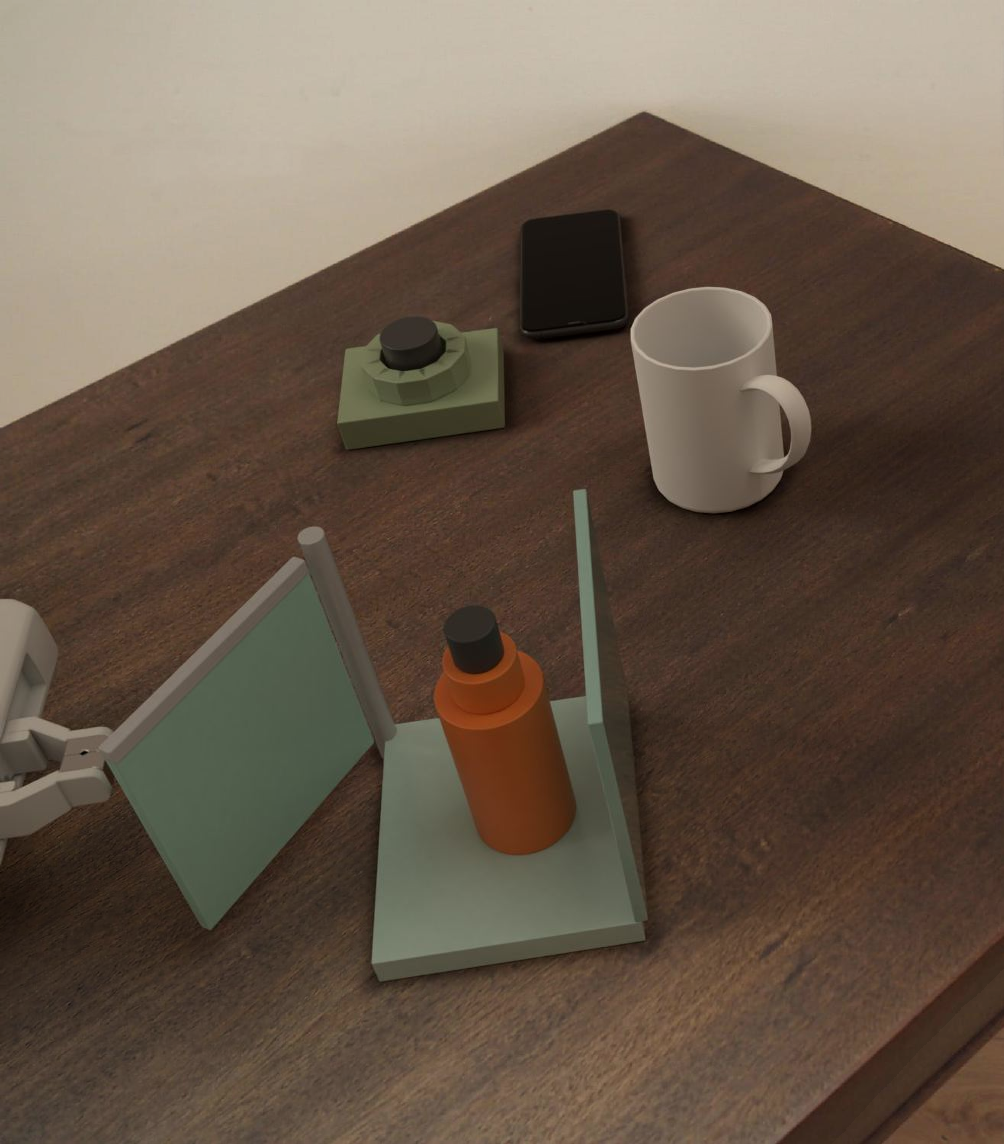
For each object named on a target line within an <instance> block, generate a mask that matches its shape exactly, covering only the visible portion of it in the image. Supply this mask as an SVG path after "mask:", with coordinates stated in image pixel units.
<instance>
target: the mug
mask: <svg viewBox="0 0 1004 1144" xmlns="http://www.w3.org/2000/svg"><path fill="white" fill-rule="evenodd" d="M774 339H775V338H774V328H773V320H772V314H771V312H770V311H769V309H768V307H767V306H766V304H765V303H763V302H762V301H760V300H759V298H757V297H756V296H753V295H751V294H749V293H747V292H744V291H741V290H737V289H732V288H729V287H719V286H718V287H717V286H703V287H702V286H701V287H693V288H687V289H683V290H679V291H675V292H672V293H669V294H667V295H665V296H663V297H660V298H657V299H655V301H653V302H651V303H650V304H649V305H647V306H646V307H644V308H643V309H642V310H641V311H640V313H639V314H638V315H637V316H636V317H635V318H634V321H633V323H632V326H631V328H630V344H631V351H632V356H633V362H634V368H635V375H636V380H637V386H638V392H639V399H640V404H641V411H642V417H643V424H644V429H645V436H646V441H647V447H648V453H649V459H650V466H651V471H652V472H651V473H652V477H653V481H654V484H655V485H656V488H657V489H658V491H659V492H660V493H661V494H662V495H663V497H665V498H666V500H668V502H670V503H672V504H674V505H676V506H677V507H679V508H681V509H684V510H688V511H691V512H694V513H704V514H722V513H728V512H729V513H731V512H734V511H738V510H742V509H744V508H748V507H750V506H752V505H754V504H756V503H758V502H761V501H763V499H764V498H766V497H768V495H769V494H771V493H772V492H773V491H774V490H775V488H776V487H777V485H778V484H779V482H780V481H781V479H782V476H783V473H784V471H785V470H787V469H789V468H790V467H793V465H795V464H797V463H798V462H799V461H800V460H801V459H802V458H803V457H804V456H805V455H806V452H807V450H808V447H809V445H810V442H811V437H812V420H811V419H812V418H811V414H810V410H809V406H808V405H807V403H806V400H805V398H804V396H803V395H802V394H801V392H800V390H799V389H798V388H797V387H796V386H795V385H794V384H793V383H792V382H791V381H789V380H787V379H786V378H784V377H781V376H778V374H777V373H778V372H777V363H776V352H775V340H774ZM780 407H781V408H782V409H783V411H784V414H785V415H786V418H787V419H788V424H789V428H790V445H789V446H790V447H789V450H788V453H787V455H785V454H784V453H785V452H784V443H783V442H784V441H783V440H784V439H783V432H782V431H783V429H782V419H781V408H780Z"/></svg>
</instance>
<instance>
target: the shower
mask: <svg viewBox="0 0 1004 1144" xmlns="http://www.w3.org/2000/svg"><path fill="white" fill-rule="evenodd" d="M588 497H589V496H588V491H587V489H586V488H581V489H574V490H573V492H572V498H573V500H572V501H573V513H574V528H575V529H574V531H575V546H576V561H577V576H578V579H577V580H578V592H579V594H578V595H579V610H580V625H581V626H580V627H581V640H582V642H581V643H582V656H583V657H582V658H583V672H584V687H585V688H584V689H585V695H582V696H577V697H576V696H575V697H569V698H562V699H556V700H555V699H554V700H550V704H551V708H552V711H553V715H554V719H555V723H556V727H557V731H558V734H559V738H560V742H561V746H562V750H563V754H564V758H565V761H566V765H567V769H568V773H569V777H570V781H571V785H572V788H573V792H574V796H575V800H576V814H575V818H574V821H573V823H572V825H571V827H570V828H569V830H568V831H567V833H566V834H565V835H564V836H563V837H562V838H561V839H560V840H559V841H557V842H556V843H555V844H553V845H551V846H550V847H548V848H546V849H544V850H541V851H539V852H535V853H531V854H526V855H510V854H505V853H501V852H498V851H496V850H494V849H492V848H491V847H489V846H488V845H487V844H485V842H484V841H483V840H482V839H481V837H480V836H479V834H478V832H477V829H476V826H475V823H474V820H473V817H472V814H471V811H470V808H469V805H468V802H467V799H466V796H465V793H464V790H463V787H462V784H461V781H460V779H459V776H458V773H457V770H456V767H455V764H454V761H453V758H452V755H451V752H450V749H449V746H448V743H447V740H446V737H445V734H444V731H443V728H442V725H441V722H440V719H439V717H434V718H428V719H421V720H416V721H415V720H414V721H408V722H400V723H396V722H395V720H394V717H393V714H392V711H391V708H390V706H389V704H388V701H387V698H386V696H385V692H384V690H383V687H382V684H381V683H380V682H381V681H380V680H379V676H378V673H377V671H376V668H375V665H374V663H373V660H372V657H371V655H370V652H369V649H368V646H367V644H366V641H365V638H364V635H363V633H362V631H361V628H360V624H359V622H358V619H357V616H356V613H355V612H354V608H353V606H352V603H351V600H350V597H349V595H348V592H347V589H346V588H345V584H344V581H343V579H342V575H341V573H340V570H339V568H338V566H337V565H338V564H337V562H336V560H335V557H334V555H333V552H332V549H331V545H330V543H329V541H328V537H327V535H326V532H325V530H324V529H323V528H322V527H320V526H317V525H316V526H308V527H306V528H303V529H302V530H301V531H300V532H299V533H298V535H297V537H296V539H297V542H298V545H299V548H300V550H301V553H302V556H303V557H304V560H305V562H306V565H307V567H308V570H309V574H310V577H311V579H312V582H313V585H314V587H315V590H316V592H317V595H318V598H319V600H320V603H321V605H322V608H323V610H324V613H325V616H326V618H327V621H328V623H329V626H330V629H331V631H332V634H333V636H334V639H335V641H336V644H337V647H338V649H339V652H340V654H341V657H342V660H343V662H344V665H345V667H346V670H347V672H348V675H349V678H350V680H351V683H352V685H353V688H354V691H355V693H356V696H357V698H358V701H359V703H360V706H361V709H362V711H363V714H364V716H365V719H366V722H367V724H368V727H369V729H370V732H371V734H372V737H373V740H374V743H375V744H376V747H377V749H378V752H379V755H380V757H381V758H382V759H383V765H382V766H383V768H382V785H381V797H380V798H381V800H380V817H379V820H380V821H379V834H378V849H377V867H376V883H375V898H374V899H375V900H374V913H373V914H374V915H373V931H372V946H371V947H372V948H371V962H370V964H371V966H372V968H373V970H374V973H375V975H376V977H377V979H378V981H379V982H380V983H381V982H388V981H394V980H399V979H400V980H401V979H407V978H414V977H419V976H420V977H421V976H426V975H431V974H432V975H433V974H439V973H446V972H452V971H459V970H464V969H465V970H466V969H470V968H477V967H478V968H479V967H484V966H491V965H497V964H503V963H510V962H516V961H523V960H528V959H535V958H542V957H547V956H555V955H561V954H567V953H568V954H569V953H574V952H581V951H587V950H593V949H600V948H607V947H612V946H619V945H626V944H631V943H637V942H644V941H646V938H647V937H646V926H645V922H646V921H648V919H649V914H648V904H647V894H646V893H647V892H646V881H645V871H644V859H643V858H644V857H643V849H642V837H641V826H640V815H639V803H638V791H637V781H636V771H635V759H634V747H633V746H634V745H633V736H632V724H631V715H630V713H631V712H630V704H629V703H630V702H629V692H628V686H627V680H626V675H625V671H624V666H623V661H622V656H621V650H620V647H619V641H618V637H617V633H616V628H615V622H614V618H613V612H612V607H611V603H610V599H609V594H608V593H609V592H608V588H607V584H606V579H605V574H604V568H603V564H602V560H601V555H600V549H599V545H598V540H597V536H596V530H595V526H594V521H593V516H592V510H591V506H590V502H589V498H588Z"/></svg>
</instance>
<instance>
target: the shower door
mask: <svg viewBox="0 0 1004 1144" xmlns="http://www.w3.org/2000/svg"><path fill="white" fill-rule="evenodd" d="M374 744H375V739H374V737H373V734H372V732H371V729H370V726H369V724H368V721H367V719H366V716H365V713H364V711H363V708H362V706H361V703H360V701H359V698H358V695H357V693H356V690H355V688H354V685H353V682H352V680H351V677H350V675H349V672H348V669H347V667H346V664H345V662H344V659H343V656H342V654H341V651H340V649H339V646H338V644H337V641H336V638H335V636H334V633H333V631H332V628H331V625H330V623H329V620H328V618H327V615H326V612H325V610H324V607H323V605H322V602H321V600H320V597H319V594H318V592H317V589H316V587H315V584H314V581H313V579H312V576H311V574H310V571H309V568H308V566H307V563H306V561H305V559H302V558H300V557H297V556H292V557H291V558H289V560H288V561H287V562H286V563H285V564H284V565H283V566H282V567H281V568H280V569H278V571H277V572H276V573H275V574H273V576H271V577H270V578H269V579H268V580H267V581H266V582H265V583H264V584H263V585H262V586H261V587H260V588H259V589H258V590H257V591H256V592H255V593H254V594H253V595H252V596H251V597H250V598H249V599H248V600H247V601H246V602H245V603H243V605H242V606H241V607H240V608H238V610H237V611H236V612H234V614H232V616H230V618H229V619H227V620H226V621H225V622H224V624H223V625H221V626H220V627H219V629H218V630H216V631H215V633H213V634H212V635H211V636H210V637H209V638H208V639H207V640H206V641H205V642H204V643H203V644H202V645H201V646H200V647H199V648H198V649H197V650H196V651H195V652H194V653H193V654H192V655H191V656H190V657H189V658H187V660H186V661H184V662H183V664H182V665H180V667H178V668H177V670H175V671H174V672H173V674H171V675H170V676H169V678H167V679H166V680H165V681H164V682H163V683H162V684H161V685H160V686H159V687H158V688H157V689H156V690H155V691H154V692H153V693H152V694H151V695H150V696H149V697H148V698H147V699H146V700H145V701H144V702H143V703H141V705H140V706H138V708H136V710H135V711H134V712H132V714H130V716H128V717H127V718H126V719H125V721H124V722H122V724H120V725H119V726H118V727H117V728H116V729H115V730H113V733H112V734H111V735H110V736H109V737H108V738H107V739H106V740H105V741H104V742H103V743H102V744H101V745H100V746H99V747H98V749H99V751H100V753H101V755H102V756H103V758H104V760H106V762H107V764H108V766H109V767H110V769H111V771H112V773H113V774H114V776H115V777H114V779H116V781H117V783H118V784H119V786H120V788H121V790H122V792H123V793H124V795H125V797H126V798H127V800H128V802H129V804H130V806H131V807H132V809H133V811H134V812H135V814H136V816H137V817H138V819H139V821H140V822H141V824H142V826H143V828H144V830H145V831H146V833H147V835H148V836H149V839H150V840H151V842H152V844H153V845H154V847H155V849H156V850H157V852H158V854H159V856H160V858H161V859H162V861H163V862H164V864H165V866H166V867H167V869H168V871H169V873H170V875H171V876H172V878H173V880H174V881H175V883H176V885H177V887H178V889H179V890H180V892H181V894H182V895H183V897H184V899H185V900H186V902H187V904H188V906H189V907H190V909H191V911H192V912H193V915H194V916H195V918H196V920H197V921H198V923H199V925H200V927H202V928H203V929H204V928H205V929H206V930H208V931H211V930H213V928H214V927H215V926H216V925H217V924H218V923H219V922H220V920H221V919H222V918H223V917H224V916H225V915H226V913H227V912H229V910H230V909H231V908H232V906H233V905H234V904H235V903H236V902H237V901H238V900H239V899H240V898H241V896H242V895H243V894H244V893H245V892H246V891H247V889H248V888H249V887H250V886H251V885H252V884H253V882H255V880H256V879H257V878H258V877H259V876H260V874H261V873H262V872H263V871H265V869H266V868H267V866H268V865H269V864H270V863H271V862H272V861H273V859H274V858H276V856H277V855H278V854H279V853H280V852H281V851H282V849H283V848H285V845H287V843H288V842H289V841H291V839H292V838H293V836H294V835H295V834H296V833H297V832H298V831H299V829H301V827H303V825H304V824H305V823H306V822H307V821H308V819H310V817H311V816H312V815H313V813H314V812H315V811H316V810H317V809H318V808H319V807H320V806H321V804H322V803H323V802H324V801H325V800H326V799H327V798H328V796H330V794H331V793H332V792H333V791H334V790H335V788H336V787H337V786H338V785H339V784H340V783H341V782H342V781H343V779H344V778H345V777H346V776H347V775H348V773H349V772H351V770H352V769H353V768H354V766H355V765H356V764H357V763H358V762H359V761H360V760H361V758H362V757H363V756H364V755H365V754H366V752H367V751H369V749H370V748H371V747H372V746H373V745H374Z"/></svg>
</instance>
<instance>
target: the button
mask: <svg viewBox="0 0 1004 1144" xmlns="http://www.w3.org/2000/svg"><path fill="white" fill-rule="evenodd" d="M433 321H434V320H432V319H431V318H428V317H424V316H419V315H418V316H417V315H416V316H415V315H414V316H406V317H401V318H399V319H396V320H394V321H392V322H390V323H388V324H387V325H386V326H384V328H383V329H382V330H381V332H380V333H379V334H380V337H379V340H380V343H381V347H382V350H383V353H384V357H385V360H386V363H387V365H388V366H389V367H390V368H392V369H394V370H398V371H410V370H417V369H422V368H424V367H426V366H428V365H431V364H433V363H435V362H437V361H438V360H439V358H440V357H441V355H442V351H443V348H442V344H441V341H440V337H439V333H438V329H437V326H436V324H435V323H434V322H433Z"/></svg>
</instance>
